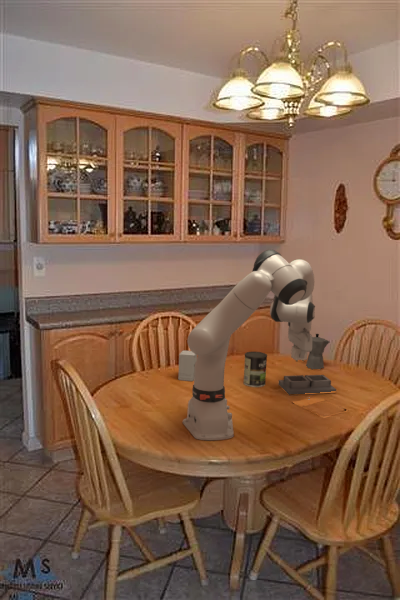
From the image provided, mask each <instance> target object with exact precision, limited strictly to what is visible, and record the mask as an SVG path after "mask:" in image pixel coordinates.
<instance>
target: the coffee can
mask: <svg viewBox="0 0 400 600" xmlns="http://www.w3.org/2000/svg"><path fill="white" fill-rule="evenodd" d="M267 360H268V354H267V353H265V352H261V351H248V352H247V351H246V352H245V353H244V364H243V365H244V370H243V385H244V386H247V387H250V388H263V387H264V386H266V379H267Z"/></svg>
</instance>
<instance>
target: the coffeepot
mask: <svg viewBox="0 0 400 600" xmlns="http://www.w3.org/2000/svg"><path fill="white" fill-rule="evenodd" d="M319 336H320V334H319V333H315V336H312V351H311V352H308V354H307V360H306V363H305V366H307V367H308V368H307V367H306V368H307V369H309V368H311V369H310V370H313V369H321V368H323V369H325V366H324V365H325V364H324V356H323V354H324V351H325V349H326V347H327V345H328V344H330V343H331V342H330V340H327V339H325V338H323V337H319Z"/></svg>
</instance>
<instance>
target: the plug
mask: <svg viewBox="0 0 400 600" xmlns="http://www.w3.org/2000/svg"><path fill="white" fill-rule="evenodd" d="M300 352H301V351H300V348H299V347H297V346H293V345H291V352H290V354H291V356H290V357H291V358H292V359H293V360H295V362H299V361H302V362H305V361H307V359H308V352H306V353H305V355H304V358H303V359H301V358H300V357H299V354H300Z"/></svg>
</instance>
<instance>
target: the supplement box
mask: <svg viewBox="0 0 400 600" xmlns="http://www.w3.org/2000/svg"><path fill="white" fill-rule="evenodd" d="M197 357H198V355H197V354H195V353H193V352H192V351H191V350H182V351H181V352H179V354H178V376H177V377H178V380H179V381H185V382H194V369H195V363H196V361H197Z"/></svg>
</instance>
